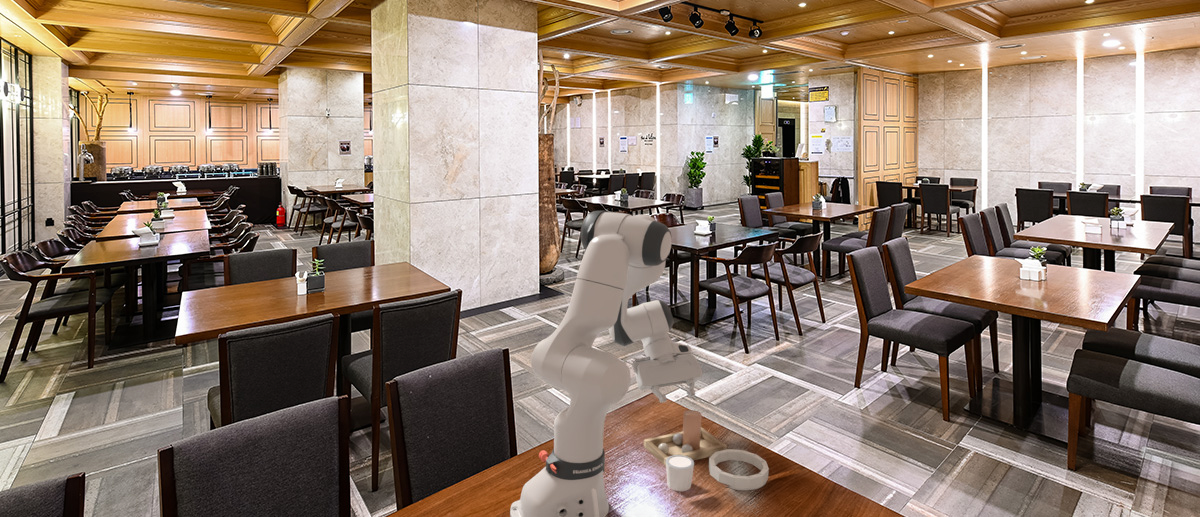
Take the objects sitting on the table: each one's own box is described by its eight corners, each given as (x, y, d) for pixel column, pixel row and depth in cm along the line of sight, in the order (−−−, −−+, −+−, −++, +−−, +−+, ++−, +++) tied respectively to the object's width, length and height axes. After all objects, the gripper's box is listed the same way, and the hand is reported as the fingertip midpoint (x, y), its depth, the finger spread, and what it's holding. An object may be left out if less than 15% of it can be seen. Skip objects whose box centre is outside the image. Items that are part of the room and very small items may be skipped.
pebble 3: (696, 447, 163) (692, 458, 163) (690, 445, 166) (686, 455, 166) (687, 443, 163) (683, 454, 162) (681, 441, 165) (677, 452, 165)
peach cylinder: (688, 453, 165) (689, 418, 163) (678, 445, 169) (680, 411, 168) (703, 450, 167) (705, 415, 165) (693, 442, 171) (695, 408, 170)
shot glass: (692, 497, 146) (693, 470, 145) (663, 493, 147) (664, 466, 146) (693, 482, 153) (694, 456, 151) (666, 478, 154) (667, 453, 153)
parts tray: (666, 469, 158) (666, 459, 158) (643, 449, 169) (643, 439, 168) (726, 455, 166) (726, 445, 166) (701, 436, 177) (701, 427, 176)
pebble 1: (661, 457, 163) (661, 447, 162) (655, 452, 165) (656, 442, 165) (671, 455, 164) (671, 445, 163) (665, 450, 167) (665, 440, 166)
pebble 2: (686, 443, 170) (677, 448, 169) (681, 439, 172) (672, 443, 171) (684, 434, 169) (675, 439, 168) (678, 429, 172) (669, 434, 171)
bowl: (732, 495, 147) (732, 483, 146) (698, 467, 160) (698, 456, 159) (779, 482, 153) (780, 470, 152) (742, 456, 166) (743, 445, 165)
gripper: (633, 354, 173) (650, 400, 166) (694, 345, 181) (712, 388, 174) (626, 364, 177) (641, 409, 171) (685, 355, 186) (703, 397, 179)
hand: (678, 398), depth 173 cm, fingers open, 8 cm apart
